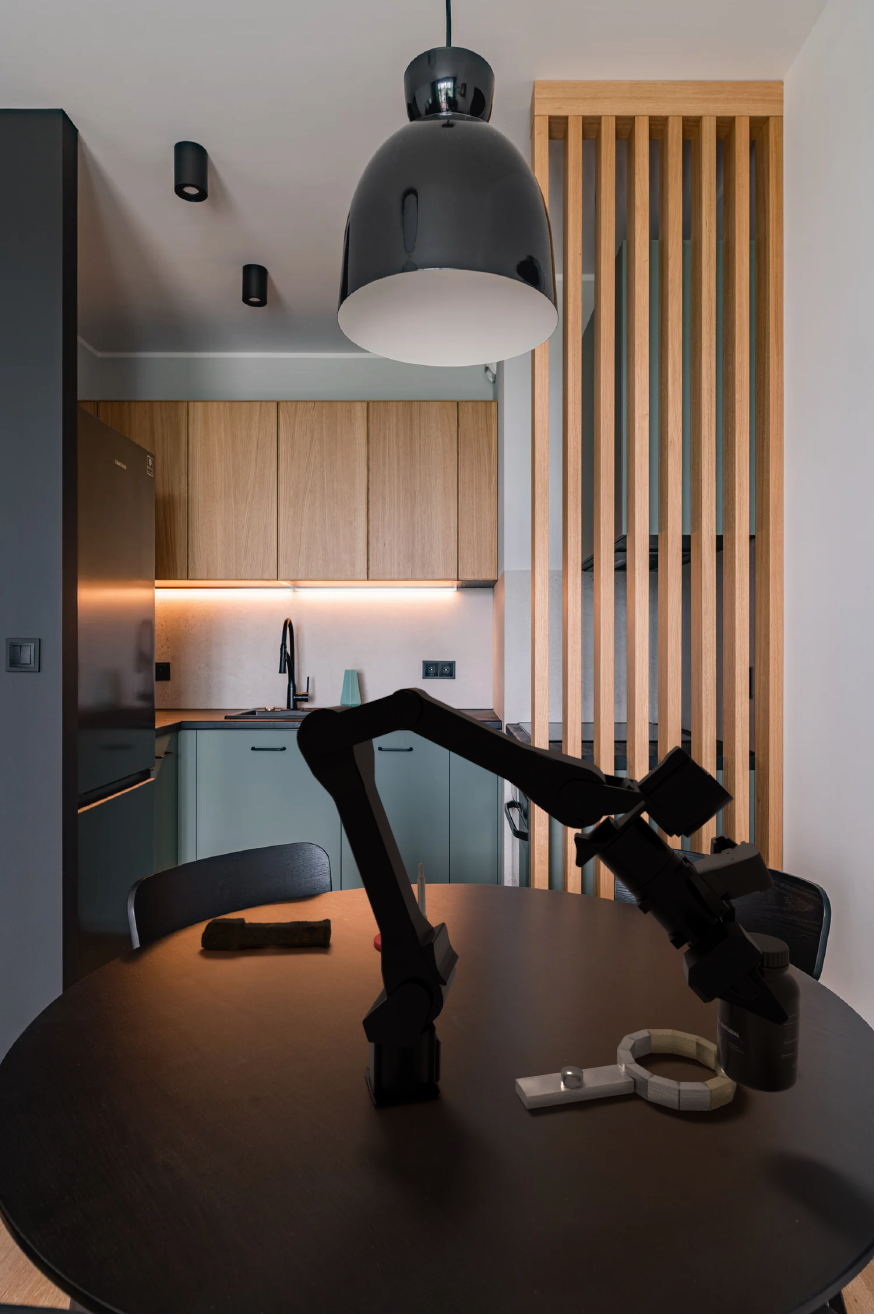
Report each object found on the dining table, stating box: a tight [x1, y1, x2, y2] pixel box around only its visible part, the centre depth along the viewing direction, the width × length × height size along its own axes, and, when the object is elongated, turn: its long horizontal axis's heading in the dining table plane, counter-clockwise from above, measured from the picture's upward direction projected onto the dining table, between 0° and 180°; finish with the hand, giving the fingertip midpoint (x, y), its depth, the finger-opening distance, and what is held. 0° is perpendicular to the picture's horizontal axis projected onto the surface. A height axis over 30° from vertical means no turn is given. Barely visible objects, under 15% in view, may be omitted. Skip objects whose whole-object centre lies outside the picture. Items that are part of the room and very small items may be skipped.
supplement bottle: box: [716, 932, 801, 1094], centre depth 66 cm, size 7×7×12 cm
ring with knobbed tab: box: [645, 1028, 737, 1111], centre depth 76 cm, size 13×12×2 cm
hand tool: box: [200, 917, 332, 952], centre depth 108 cm, size 19×4×5 cm, turn 95°
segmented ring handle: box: [515, 1029, 711, 1112], centre depth 73 cm, size 17×12×2 cm
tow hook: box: [373, 862, 428, 951], centre depth 109 cm, size 8×13×9 cm
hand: (774, 1002), depth 65 cm, fingers closed on supplement bottle, 7 cm apart
